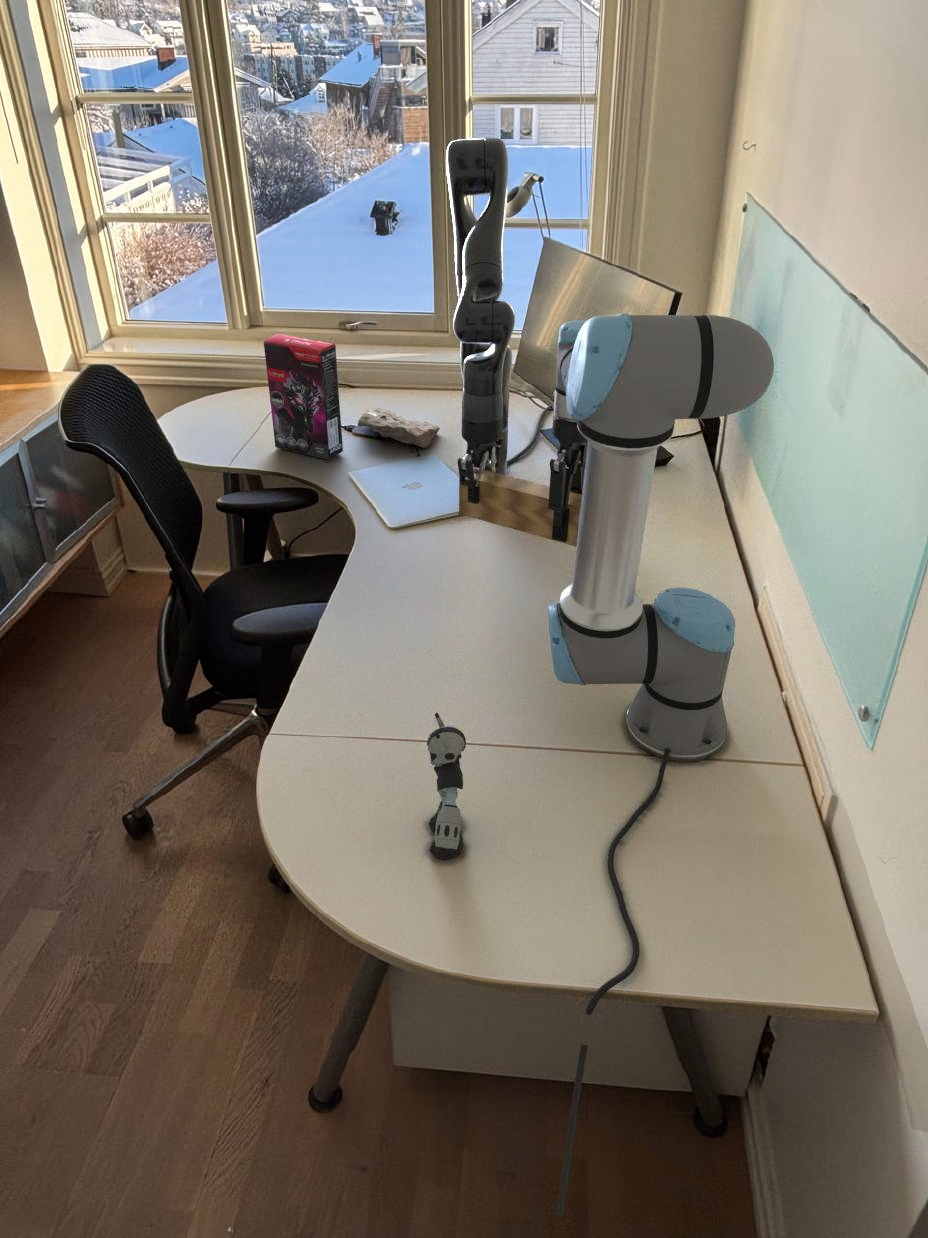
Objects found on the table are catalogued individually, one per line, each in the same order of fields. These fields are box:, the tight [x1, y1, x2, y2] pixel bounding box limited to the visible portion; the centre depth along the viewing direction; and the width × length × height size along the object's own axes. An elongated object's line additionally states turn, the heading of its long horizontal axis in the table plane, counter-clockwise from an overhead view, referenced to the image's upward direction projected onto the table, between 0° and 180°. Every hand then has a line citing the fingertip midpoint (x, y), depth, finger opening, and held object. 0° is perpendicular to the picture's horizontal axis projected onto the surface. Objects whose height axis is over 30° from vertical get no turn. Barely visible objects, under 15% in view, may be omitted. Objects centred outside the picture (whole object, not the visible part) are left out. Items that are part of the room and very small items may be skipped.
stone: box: [357, 407, 441, 449], centre depth 236 cm, size 21×15×6 cm
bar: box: [458, 467, 582, 548], centre depth 174 cm, size 25×5×8 cm, turn 60°
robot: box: [426, 712, 467, 861], centre depth 119 cm, size 20×5×20 cm, turn 3°
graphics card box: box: [263, 333, 344, 460], centre depth 223 cm, size 17×7×27 cm, turn 62°
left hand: (480, 496), depth 178 cm, fingers closed on bar, 4 cm apart
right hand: (565, 533), depth 172 cm, fingers closed on bar, 5 cm apart
